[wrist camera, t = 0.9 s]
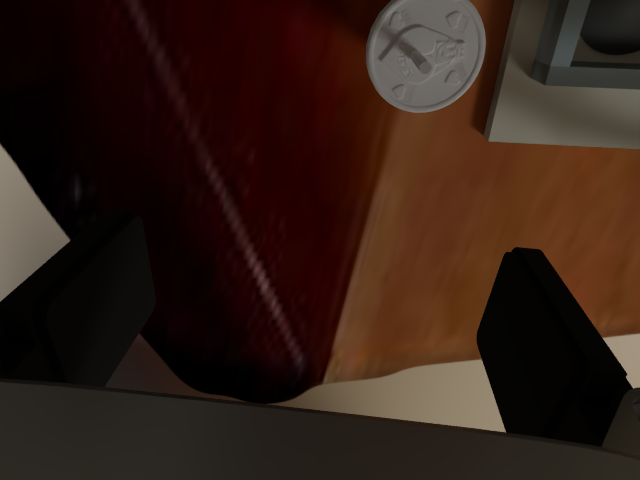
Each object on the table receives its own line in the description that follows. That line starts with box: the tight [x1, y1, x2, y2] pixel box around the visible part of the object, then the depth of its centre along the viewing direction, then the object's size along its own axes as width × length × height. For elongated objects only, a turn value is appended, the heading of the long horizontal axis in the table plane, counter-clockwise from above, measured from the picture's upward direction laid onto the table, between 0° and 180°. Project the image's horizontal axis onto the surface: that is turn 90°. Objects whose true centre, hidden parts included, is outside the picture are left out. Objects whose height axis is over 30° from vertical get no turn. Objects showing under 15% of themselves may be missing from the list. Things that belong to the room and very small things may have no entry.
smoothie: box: [366, 0, 486, 113], centre depth 25 cm, size 6×6×14 cm
